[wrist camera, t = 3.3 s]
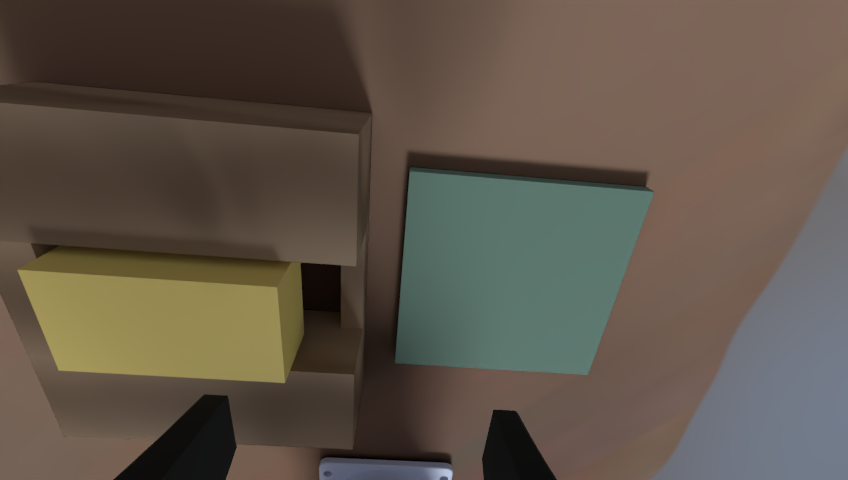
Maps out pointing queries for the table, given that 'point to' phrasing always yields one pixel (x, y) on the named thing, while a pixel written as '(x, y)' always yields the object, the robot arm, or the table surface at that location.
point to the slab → (167, 313)
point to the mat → (512, 269)
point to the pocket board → (191, 238)
